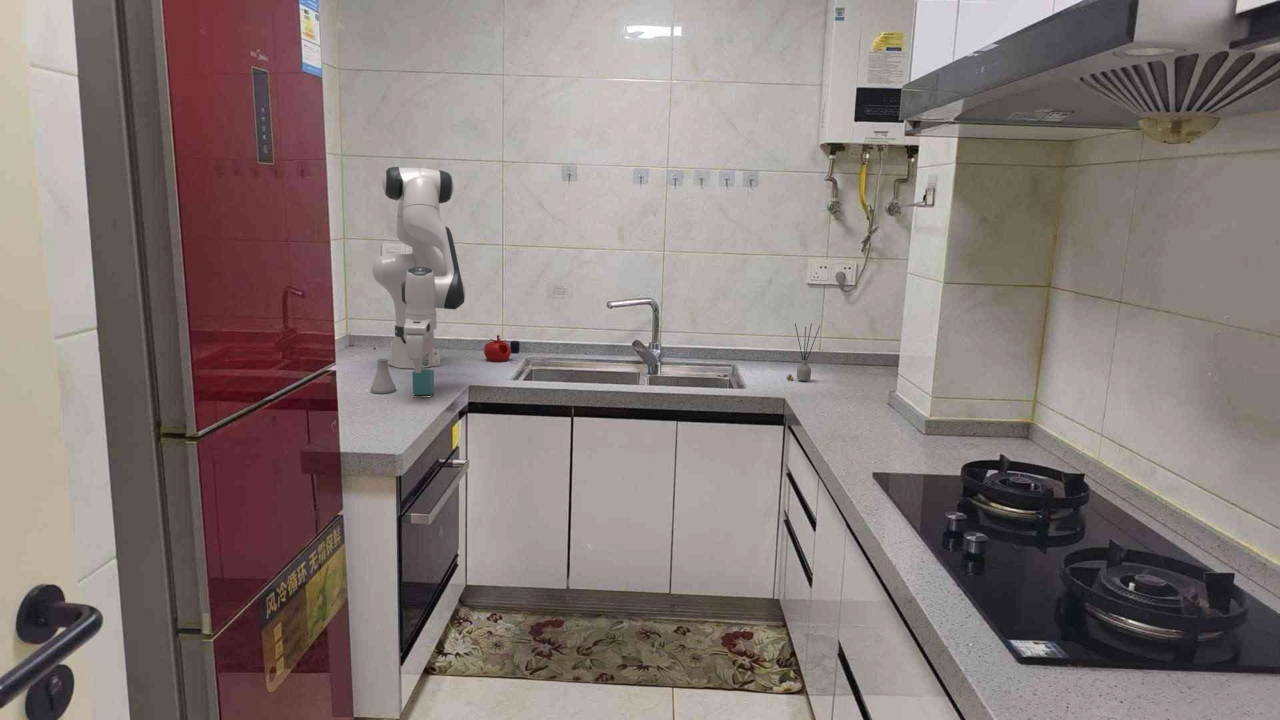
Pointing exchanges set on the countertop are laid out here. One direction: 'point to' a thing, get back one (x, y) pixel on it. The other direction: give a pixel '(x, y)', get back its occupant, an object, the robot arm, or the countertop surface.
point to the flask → (383, 378)
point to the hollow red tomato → (497, 350)
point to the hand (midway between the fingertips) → (421, 369)
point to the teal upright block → (423, 382)
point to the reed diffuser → (803, 362)
